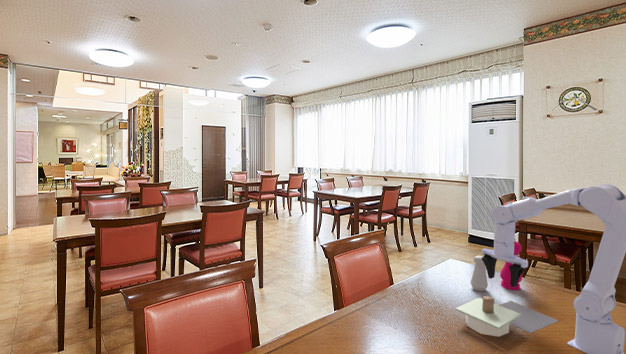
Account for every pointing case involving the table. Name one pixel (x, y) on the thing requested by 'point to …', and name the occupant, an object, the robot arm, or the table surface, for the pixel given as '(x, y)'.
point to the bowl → (485, 327)
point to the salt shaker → (479, 275)
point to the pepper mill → (506, 271)
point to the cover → (488, 312)
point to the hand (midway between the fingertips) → (502, 281)
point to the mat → (528, 317)
